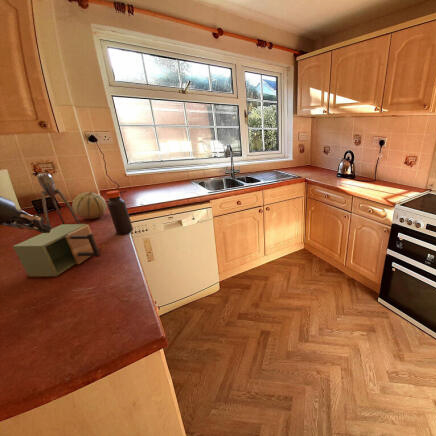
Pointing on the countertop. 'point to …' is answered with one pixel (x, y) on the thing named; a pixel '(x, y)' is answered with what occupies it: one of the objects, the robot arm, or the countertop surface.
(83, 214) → the cantaloupe
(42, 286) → the countertop surface
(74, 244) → the brown panel dark handle
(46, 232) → the robot arm
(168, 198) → the countertop surface
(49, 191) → the juicer
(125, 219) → the bottle
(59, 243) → the cabinet
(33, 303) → the countertop surface
